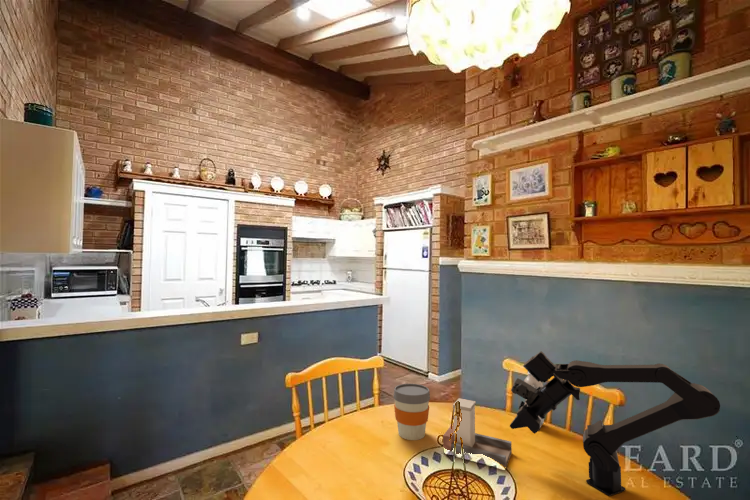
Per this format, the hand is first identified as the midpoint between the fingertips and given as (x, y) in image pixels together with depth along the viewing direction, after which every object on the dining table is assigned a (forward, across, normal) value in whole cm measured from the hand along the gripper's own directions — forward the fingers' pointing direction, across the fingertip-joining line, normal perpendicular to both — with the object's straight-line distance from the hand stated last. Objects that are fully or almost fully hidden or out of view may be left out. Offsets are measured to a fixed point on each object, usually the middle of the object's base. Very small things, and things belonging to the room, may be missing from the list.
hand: (510, 427), depth 105 cm
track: (+14, 0, 0) cm, 14 cm away
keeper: (+16, 0, -4) cm, 16 cm away
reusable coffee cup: (+30, -2, -16) cm, 34 cm away
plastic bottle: (+5, -31, +9) cm, 33 cm away
